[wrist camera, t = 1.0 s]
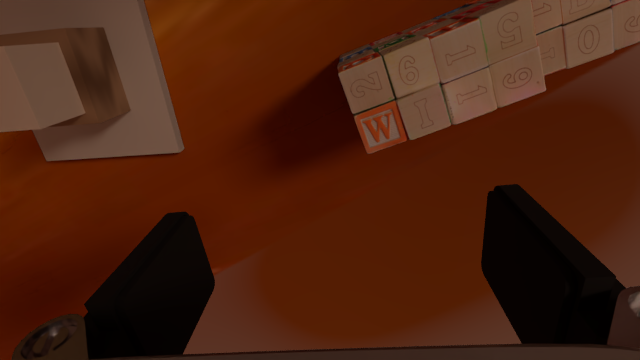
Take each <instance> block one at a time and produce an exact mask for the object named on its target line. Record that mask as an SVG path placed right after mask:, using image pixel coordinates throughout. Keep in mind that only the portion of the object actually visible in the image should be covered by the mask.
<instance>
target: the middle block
mask: <svg viewBox="0 0 640 360" xmlns="http://www.w3.org/2000/svg"><path fill="white" fill-rule="evenodd" d="M82 114H85V110H84V108H83V105H82V102H81V100H80V97H79V95H78V92H77V90H76V87H75V84H74V82H73V79H72V77H71V74H70V71H69V69H68V66H67V64H66V61H65V58H64V56H63V53H62V51H61V48H60V46H59V43H58V42H56V43H42V44H27V45H13V46H0V132H9V131H22V130H36V129H43V128H46V127H48V126H51V125H54V124H57V123H60V122H63V121H65V120H68V119H71V118H74V117H77V116H79V115H82Z"/></svg>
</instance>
